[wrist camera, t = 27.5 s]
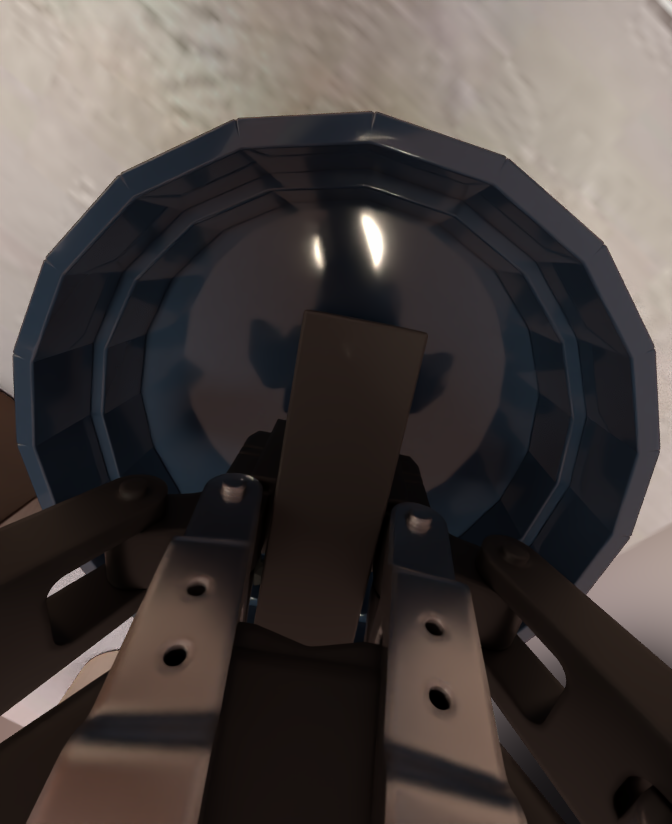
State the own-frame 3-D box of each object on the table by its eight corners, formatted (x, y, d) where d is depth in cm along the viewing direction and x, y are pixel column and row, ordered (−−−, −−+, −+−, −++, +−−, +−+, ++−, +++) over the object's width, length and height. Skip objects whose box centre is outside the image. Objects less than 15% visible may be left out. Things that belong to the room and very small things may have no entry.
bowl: (514, 73, 10) (637, -76, 6) (580, 530, 16) (670, 645, 11) (41, 278, 13) (-131, 291, 9) (235, 603, 19) (193, 718, 14)
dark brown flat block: (321, 311, 12) (303, 308, 7) (395, 325, 12) (429, 333, 7) (271, 600, 15) (234, 742, 10) (332, 611, 15) (325, 758, 10)
